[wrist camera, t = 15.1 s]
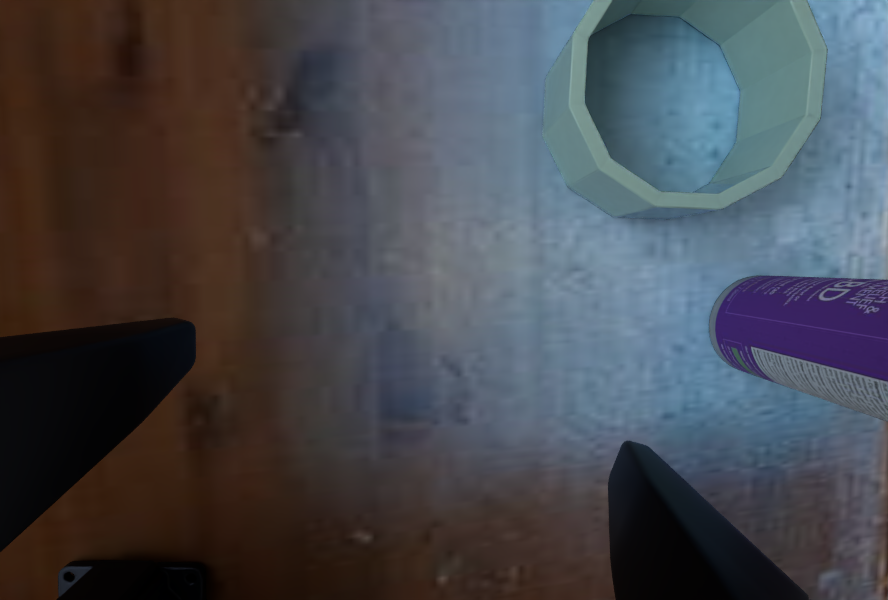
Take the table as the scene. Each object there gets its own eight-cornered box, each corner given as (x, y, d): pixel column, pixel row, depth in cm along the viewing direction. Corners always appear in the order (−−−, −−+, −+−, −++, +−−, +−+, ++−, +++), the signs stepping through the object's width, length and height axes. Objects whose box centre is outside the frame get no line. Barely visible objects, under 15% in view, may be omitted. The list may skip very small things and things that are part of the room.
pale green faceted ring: (740, 222, 21) (812, 213, 18) (537, 214, 21) (563, 202, 17) (759, 8, 21) (838, -52, 17) (549, -5, 20) (578, -70, 16)
